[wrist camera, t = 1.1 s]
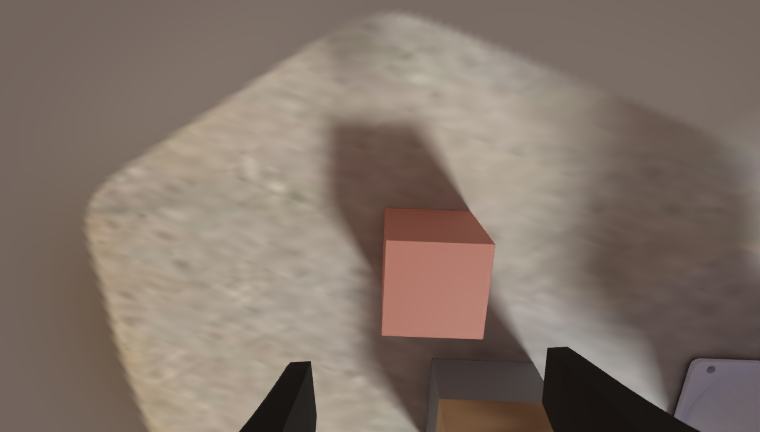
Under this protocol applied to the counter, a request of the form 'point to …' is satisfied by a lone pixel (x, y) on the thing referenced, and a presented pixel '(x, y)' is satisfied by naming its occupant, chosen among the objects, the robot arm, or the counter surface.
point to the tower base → (481, 383)
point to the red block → (435, 274)
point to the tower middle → (491, 416)
